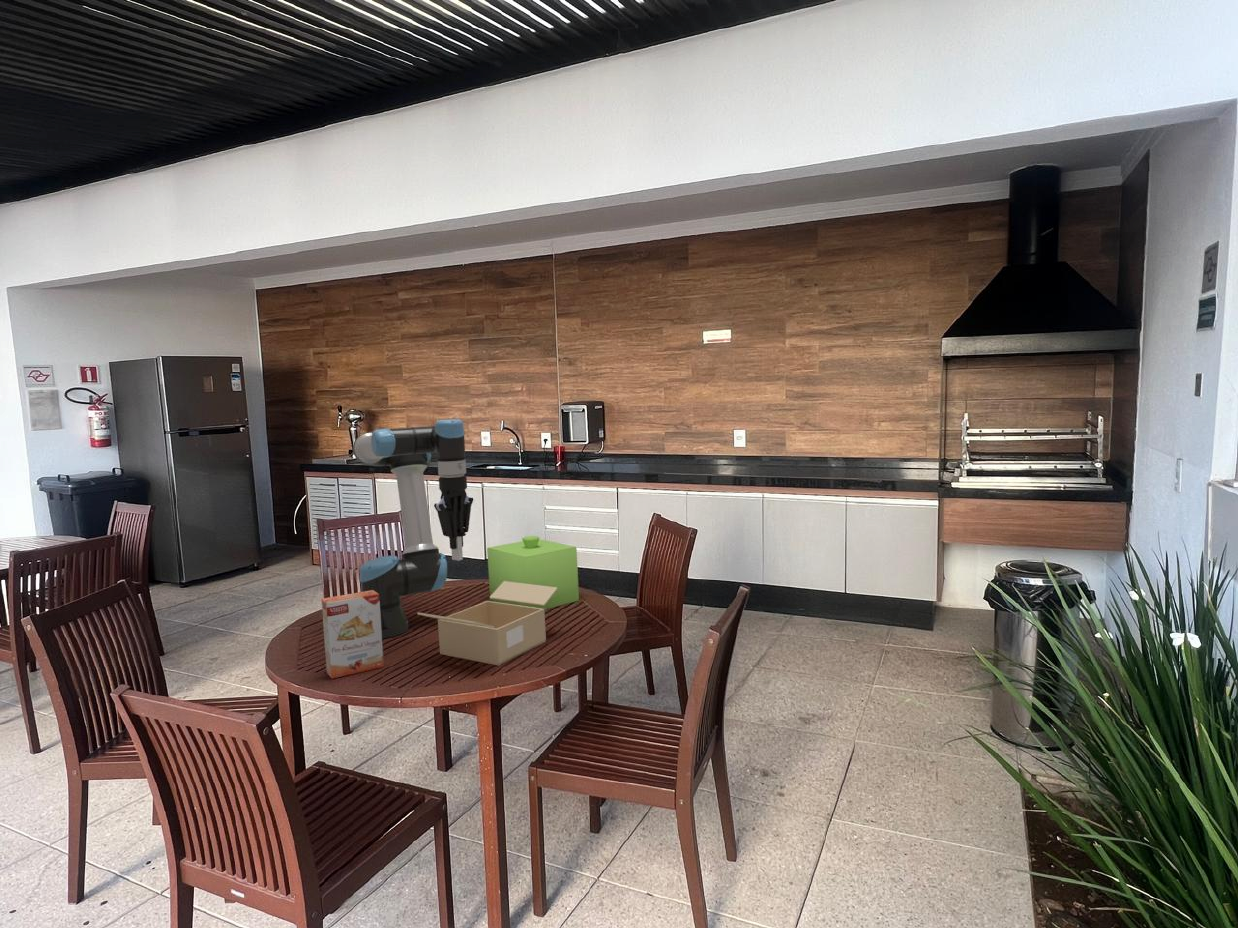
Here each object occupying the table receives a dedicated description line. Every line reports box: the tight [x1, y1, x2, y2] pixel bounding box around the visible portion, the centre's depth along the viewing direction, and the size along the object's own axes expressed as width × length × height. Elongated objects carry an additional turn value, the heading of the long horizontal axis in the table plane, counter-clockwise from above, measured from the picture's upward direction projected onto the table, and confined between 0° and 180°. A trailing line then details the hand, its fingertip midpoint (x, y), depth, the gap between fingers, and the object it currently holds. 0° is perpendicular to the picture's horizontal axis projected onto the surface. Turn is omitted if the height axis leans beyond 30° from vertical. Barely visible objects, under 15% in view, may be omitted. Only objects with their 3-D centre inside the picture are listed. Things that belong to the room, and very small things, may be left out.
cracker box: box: [321, 590, 384, 679], centre depth 199 cm, size 14×6×21 cm, turn 124°
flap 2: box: [489, 581, 558, 606], centre depth 225 cm, size 21×1×8 cm
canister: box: [486, 535, 580, 611], centre depth 262 cm, size 25×21×23 cm
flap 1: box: [416, 612, 494, 628], centre depth 200 cm, size 21×1×8 cm
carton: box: [437, 600, 547, 667], centre depth 213 cm, size 22×21×10 cm
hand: (457, 559), depth 206 cm, fingers closed
